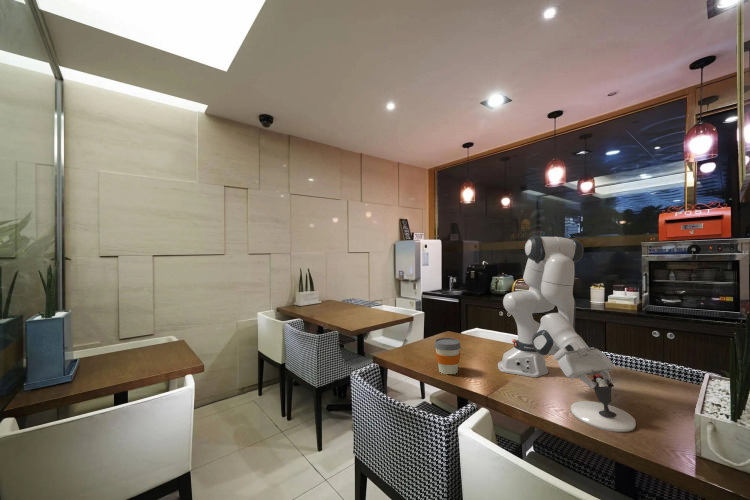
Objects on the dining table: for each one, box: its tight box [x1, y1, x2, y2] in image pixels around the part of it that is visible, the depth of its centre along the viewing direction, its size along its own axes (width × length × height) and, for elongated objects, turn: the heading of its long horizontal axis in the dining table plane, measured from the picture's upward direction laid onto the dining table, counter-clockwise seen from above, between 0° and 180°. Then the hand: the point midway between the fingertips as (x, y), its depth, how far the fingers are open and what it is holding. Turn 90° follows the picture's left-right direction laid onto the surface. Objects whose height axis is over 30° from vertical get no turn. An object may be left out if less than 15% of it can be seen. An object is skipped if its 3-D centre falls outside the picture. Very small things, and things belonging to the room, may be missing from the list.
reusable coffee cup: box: [434, 337, 461, 375], centre depth 149 cm, size 13×12×15 cm
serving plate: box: [570, 400, 637, 433], centre depth 105 cm, size 18×18×1 cm
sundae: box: [591, 370, 616, 417], centre depth 105 cm, size 7×7×15 cm
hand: (602, 386), depth 104 cm, fingers closed on sundae, 6 cm apart
